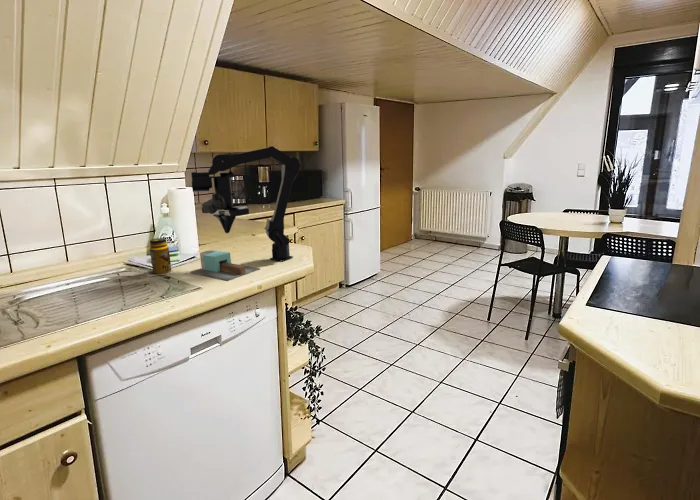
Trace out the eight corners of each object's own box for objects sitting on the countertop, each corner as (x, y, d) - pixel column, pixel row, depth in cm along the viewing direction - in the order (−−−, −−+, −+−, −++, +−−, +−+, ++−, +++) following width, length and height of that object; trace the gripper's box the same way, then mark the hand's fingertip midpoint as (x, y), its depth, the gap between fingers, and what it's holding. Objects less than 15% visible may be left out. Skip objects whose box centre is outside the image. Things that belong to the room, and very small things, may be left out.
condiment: (174, 272, 142) (170, 239, 139) (148, 277, 138) (143, 243, 135) (170, 268, 148) (166, 236, 145) (145, 272, 143) (140, 239, 141)
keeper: (220, 265, 148) (218, 250, 147) (231, 267, 145) (230, 252, 144) (204, 269, 143) (203, 255, 142) (216, 272, 140) (214, 257, 138)
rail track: (223, 262, 153) (221, 246, 152) (260, 269, 144) (258, 252, 142) (189, 273, 141) (187, 255, 140) (227, 280, 131) (225, 262, 130)
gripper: (187, 191, 142) (192, 234, 146) (223, 193, 133) (228, 239, 136) (212, 188, 151) (216, 229, 155) (248, 190, 142) (251, 233, 146)
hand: (227, 233), depth 148 cm, fingers closed
